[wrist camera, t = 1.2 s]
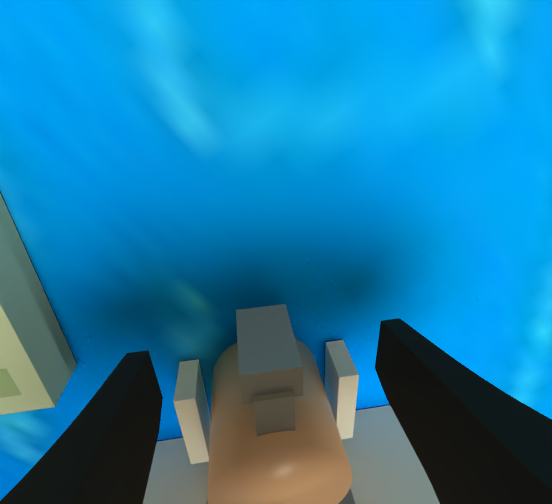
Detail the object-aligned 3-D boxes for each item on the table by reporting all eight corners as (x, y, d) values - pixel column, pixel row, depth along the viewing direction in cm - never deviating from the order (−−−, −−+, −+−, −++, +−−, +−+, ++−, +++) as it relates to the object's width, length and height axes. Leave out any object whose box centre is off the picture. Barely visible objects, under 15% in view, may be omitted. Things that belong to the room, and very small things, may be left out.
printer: (96, 476, 17) (39, 655, 12) (46, 379, 14) (-65, 567, 8) (430, 421, 19) (510, 556, 13) (455, 324, 15) (575, 451, 10)
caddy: (219, 416, 16) (217, 541, 12) (196, 293, 13) (181, 405, 8) (315, 401, 17) (348, 516, 12) (317, 280, 13) (363, 378, 9)
